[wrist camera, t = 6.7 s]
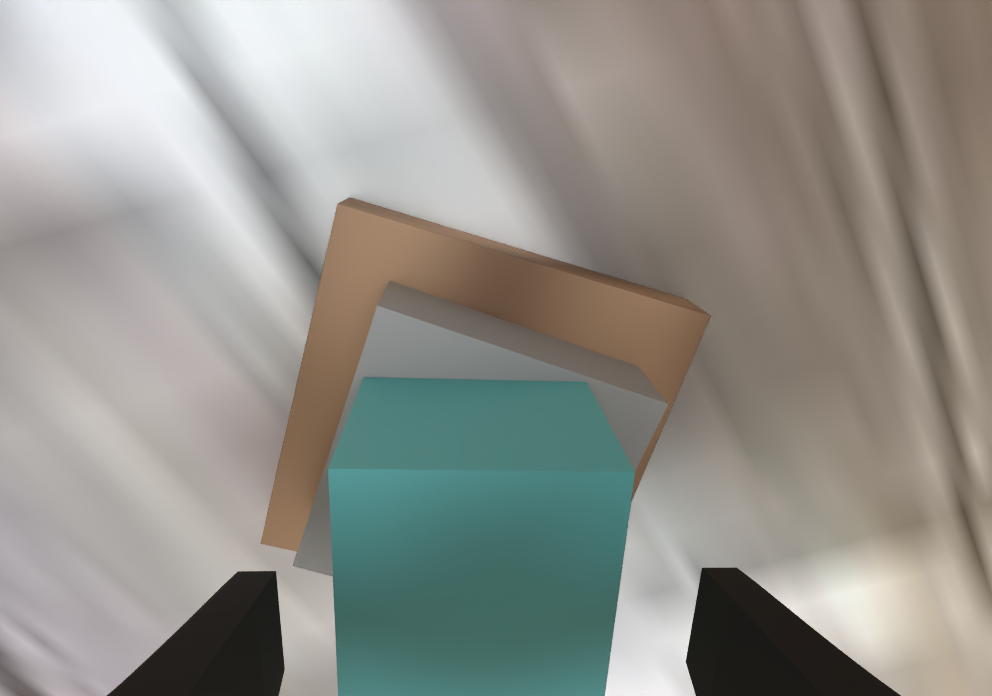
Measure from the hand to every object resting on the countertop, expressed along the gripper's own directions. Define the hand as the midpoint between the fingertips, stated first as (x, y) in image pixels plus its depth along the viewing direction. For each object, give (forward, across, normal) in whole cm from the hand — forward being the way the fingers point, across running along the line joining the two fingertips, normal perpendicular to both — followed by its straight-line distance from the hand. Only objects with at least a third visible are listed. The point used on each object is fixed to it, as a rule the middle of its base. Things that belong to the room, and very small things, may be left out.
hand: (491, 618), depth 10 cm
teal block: (+4, 0, 0) cm, 4 cm away
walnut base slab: (+10, 0, 0) cm, 10 cm away
